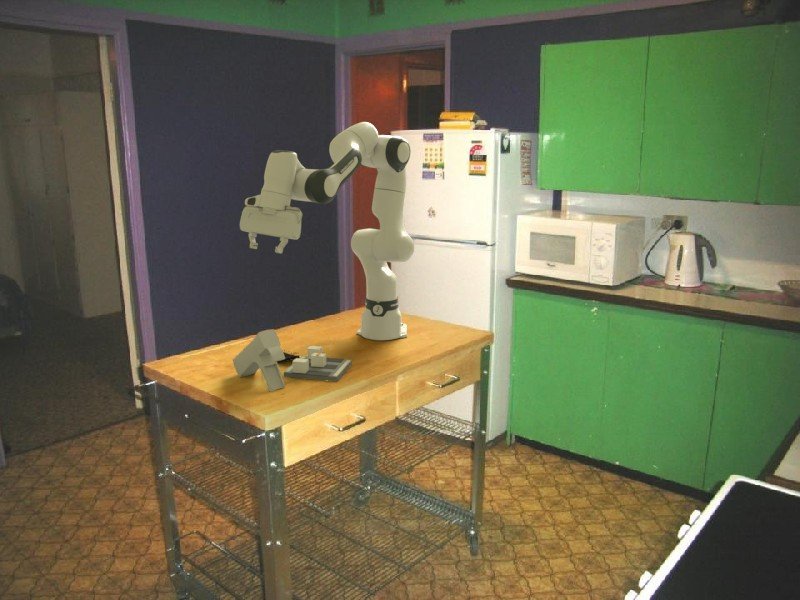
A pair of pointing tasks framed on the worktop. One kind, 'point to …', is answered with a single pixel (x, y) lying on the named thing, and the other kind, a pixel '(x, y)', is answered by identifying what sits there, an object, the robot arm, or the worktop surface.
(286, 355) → the hairbrush
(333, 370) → the panel
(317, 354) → the breaker
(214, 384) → the worktop surface
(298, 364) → the block
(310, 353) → the block
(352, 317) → the worktop surface
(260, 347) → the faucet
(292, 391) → the worktop surface
